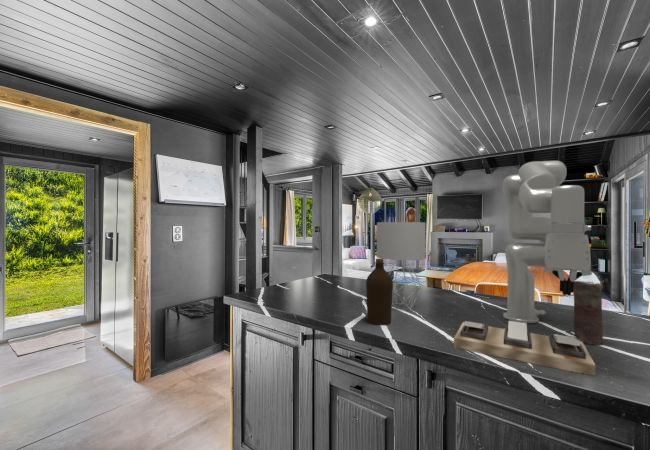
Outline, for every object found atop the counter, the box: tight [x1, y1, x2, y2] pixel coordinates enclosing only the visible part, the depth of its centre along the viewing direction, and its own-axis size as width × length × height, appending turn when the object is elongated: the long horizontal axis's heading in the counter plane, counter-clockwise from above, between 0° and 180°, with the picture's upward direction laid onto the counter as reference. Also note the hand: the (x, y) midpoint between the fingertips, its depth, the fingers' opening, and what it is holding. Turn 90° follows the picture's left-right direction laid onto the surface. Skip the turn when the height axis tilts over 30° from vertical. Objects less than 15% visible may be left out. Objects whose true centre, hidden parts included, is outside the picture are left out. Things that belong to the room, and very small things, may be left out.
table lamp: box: [376, 221, 427, 311], centre depth 146 cm, size 22×22×40 cm
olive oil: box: [365, 258, 394, 326], centre depth 123 cm, size 11×11×25 cm
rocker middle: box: [507, 320, 528, 343], centre depth 96 cm, size 5×11×1 cm, turn 148°
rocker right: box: [553, 333, 580, 346], centre depth 90 cm, size 5×11×1 cm, turn 148°
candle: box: [573, 280, 604, 345], centre depth 104 cm, size 8×7×20 cm
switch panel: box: [453, 320, 596, 377], centre depth 96 cm, size 34×19×4 cm, turn 58°
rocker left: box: [464, 320, 486, 329], centre depth 103 cm, size 5×11×1 cm, turn 148°
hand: (566, 294), depth 87 cm, fingers closed
